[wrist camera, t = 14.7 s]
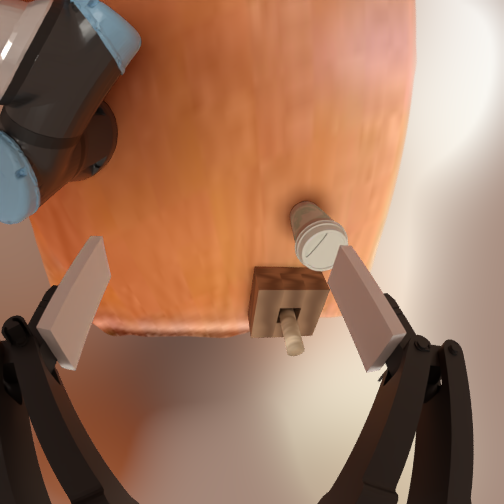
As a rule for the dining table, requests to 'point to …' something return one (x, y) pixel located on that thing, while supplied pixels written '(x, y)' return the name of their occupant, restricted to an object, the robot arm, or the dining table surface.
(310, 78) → the dining table surface
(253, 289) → the bore block
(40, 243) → the dining table surface
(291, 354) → the dowel
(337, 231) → the coffee cup
